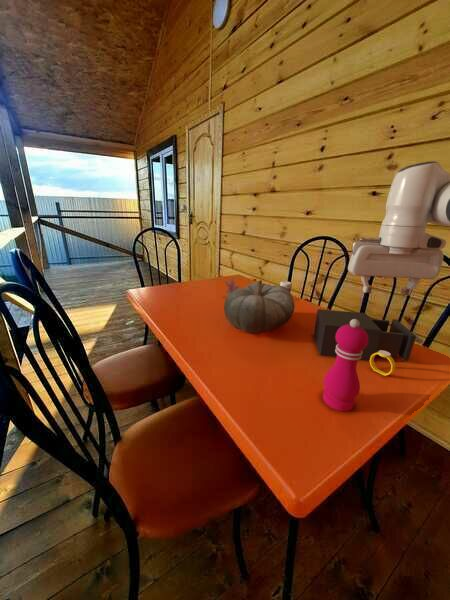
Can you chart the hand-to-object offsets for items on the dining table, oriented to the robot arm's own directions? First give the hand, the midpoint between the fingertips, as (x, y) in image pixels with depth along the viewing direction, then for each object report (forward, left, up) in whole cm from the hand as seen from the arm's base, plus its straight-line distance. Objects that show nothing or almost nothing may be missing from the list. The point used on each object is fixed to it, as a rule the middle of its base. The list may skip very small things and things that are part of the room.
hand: (385, 293), depth 65 cm
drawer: (-6, -8, -20) cm, 22 cm away
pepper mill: (+13, +18, -21) cm, 31 cm away
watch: (-1, +4, -21) cm, 21 cm away
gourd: (+33, -17, -21) cm, 42 cm away
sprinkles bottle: (+23, -32, -21) cm, 44 cm away
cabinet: (+6, -8, -21) cm, 23 cm away
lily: (+46, -45, -21) cm, 67 cm away
